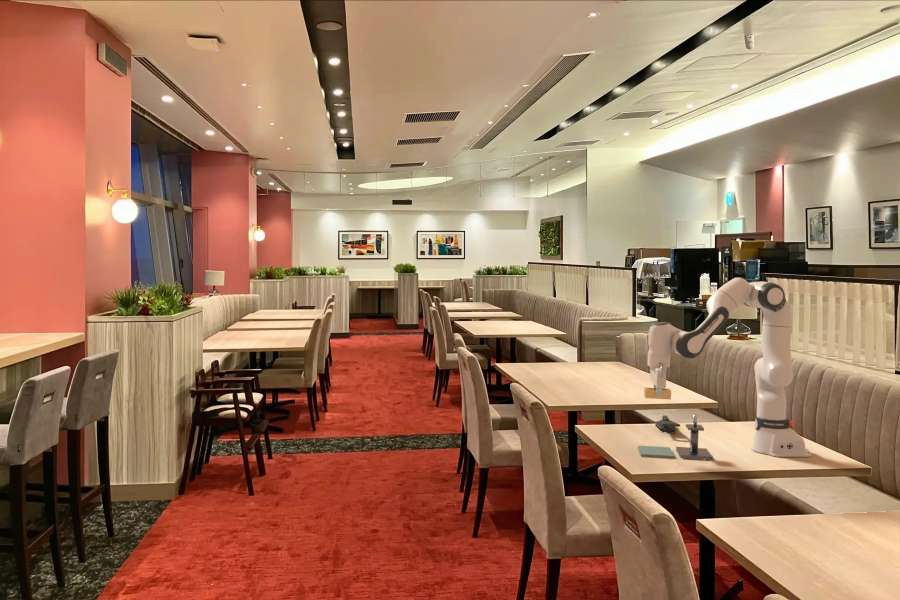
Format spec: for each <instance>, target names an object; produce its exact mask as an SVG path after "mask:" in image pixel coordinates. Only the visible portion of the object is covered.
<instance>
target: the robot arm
mask: <svg viewBox="0 0 900 600" xmlns="http://www.w3.org/2000/svg"><path fill="white" fill-rule="evenodd" d="M743 305H745V306H747V307H750V308H751V307H752V308H754V309H755V308H756V309H761V310H762V315H763V318H762V326H761V337H760V338H761V339H760V344H761V350H762V357H760V358H758V359H757V360H756V361H755V363H754V366H753V367H754V368H753V369H754V373H755V374H754V375H755V387H756V399H757V401H756V402H757V403H756V415H755V419H754V430H755V431H754V436H753V437H754V438H753V442H752V445H751V450H752V451H755V452H757V453H761V454H764V455H768V456H772V457H779V458H787V457H788V458H790V457H791V458H792V457H793V458H810V457H812V452H811V451H810V450H809V449H808V448H806V444H805V440H804V438H803V437H802V436H801V435H800V434H798V433H797V431H795V430H794V429H793V428H791V427H794V426H795V424H796V423H795V421H793V420H790V419H788V418H787V397H786V393H785V387H787V386H789V385H790V384H791V383H792V382H793V381H794V371H793V364H792V363H793V361H792V351H791V339H792V329H793V312H792V310H793V309H792V305H791V303H790V302H789V301H788V300H787V299H786V294H785V291H784V289H783V287H782V286H781V285H779V284H778V283H775V282H768V281H764V280H763V281H762V280H761V281H747V280H746V279H745V278H743V277H734V278H732V279H731V280H729V281H727V282H726V283H724V284H723V285H721V287H719V288H718V289H716V290H715V292H713V293H712V294H711V296H710V297H708V300H707V301H706V310H707V312H708V315H707V316H706V319H705V320H704V321H702V323H701V324H699V325H698V327H697V328H696V329H694V330H691V331H685V330H682V329H680V328H677V327H675V326H673V325H672V324H671V323H670V322H667V321H658V322H654V323H652V324H651V325H650V326H649V331H648V337H647V338H648V340H647V341H648V342H647V343H648V351H647V366H648V367H649V377H650V380H651V382H652V383H653V388H656V396H657V397H661V392H662V388H667V387H666V386H667V368H670V366H671V354H672V353H675V354H676V355H680V356H681V357H684V358H686V359H694V358H695V359H696V358H698V357H699V356H701V354H702V352H703V351H704V349H705V347H706V345H707V343H708V342H709V341H710V340H711V339H712V337H713V336H715V334H716V333H717V332H718V331H719V330H720V329H721V328H722V327H723V325H724V324H726V322H727V321H728V319H729V318H730V317H732V315H733V314H735V312H737V310H738V309H740V308H741V306H743Z"/></svg>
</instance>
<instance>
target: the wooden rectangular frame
mask: <svg viewBox="0 0 900 600" xmlns="http://www.w3.org/2000/svg"><path fill="white" fill-rule="evenodd" d="M643 389H644V390H643V397H644V398H645V399H652V400H653V399H654V400H655V399H657V400H658V399H659V400H671V399H672V390H671V388H667V387H665V388H662V392H661V397H657V396H656V388H654V387H645V386H644V387H643Z"/></svg>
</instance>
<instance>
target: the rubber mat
mask: <svg viewBox="0 0 900 600" xmlns="http://www.w3.org/2000/svg"><path fill="white" fill-rule="evenodd" d="M637 449H638V450H637V451H638V452H639V454H640V457H641V456H647V457H646V458H658V457H662V458H661V459H675V457H676V456H675V454H674V453H673V450H672V449H671V447H670V446H668V447H667V446H653V445H637ZM649 456H650V457H649Z"/></svg>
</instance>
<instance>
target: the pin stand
mask: <svg viewBox="0 0 900 600" xmlns="http://www.w3.org/2000/svg"><path fill="white" fill-rule="evenodd" d="M685 427H686V429H687V430H688V431H690V438H689V439H690V440H689V441H690V443H689V447H687V446H685V447H684V446H683V447H682V446H675V447H676V448H675V451H676V452H677V454H678V456H679V457H680V459H681V458H686V459H685V460H697V459H705V460H704V461H713V455H712V454H711V453H710V451H709V450H708V449H707V448H704V447H703V448H702V447H701V448H700V447H699V431H700V432H704V431H705V428H704V427H703V425H702V424H698V415H697V414H693V416H692V424H690V423H686V424H685Z"/></svg>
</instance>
